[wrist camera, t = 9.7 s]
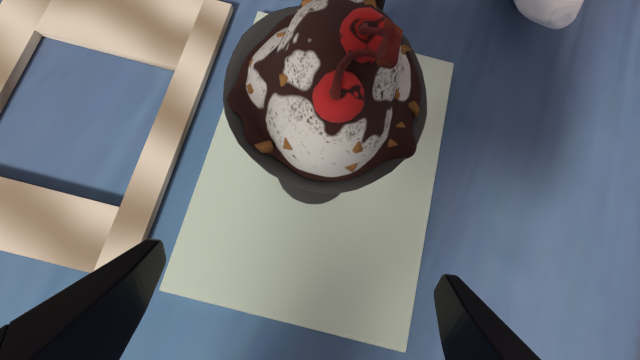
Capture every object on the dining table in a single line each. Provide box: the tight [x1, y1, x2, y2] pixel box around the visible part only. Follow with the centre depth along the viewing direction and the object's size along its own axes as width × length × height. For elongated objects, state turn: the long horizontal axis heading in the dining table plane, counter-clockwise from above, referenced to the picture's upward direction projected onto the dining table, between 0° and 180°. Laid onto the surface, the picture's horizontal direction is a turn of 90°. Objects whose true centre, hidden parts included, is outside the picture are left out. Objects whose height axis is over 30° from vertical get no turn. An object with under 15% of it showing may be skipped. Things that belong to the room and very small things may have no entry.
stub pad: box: [159, 11, 454, 353], centre depth 20 cm, size 20×15×1 cm
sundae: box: [223, 0, 427, 204], centre depth 12 cm, size 7×7×15 cm
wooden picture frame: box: [0, 0, 233, 273], centre depth 19 cm, size 20×15×1 cm
